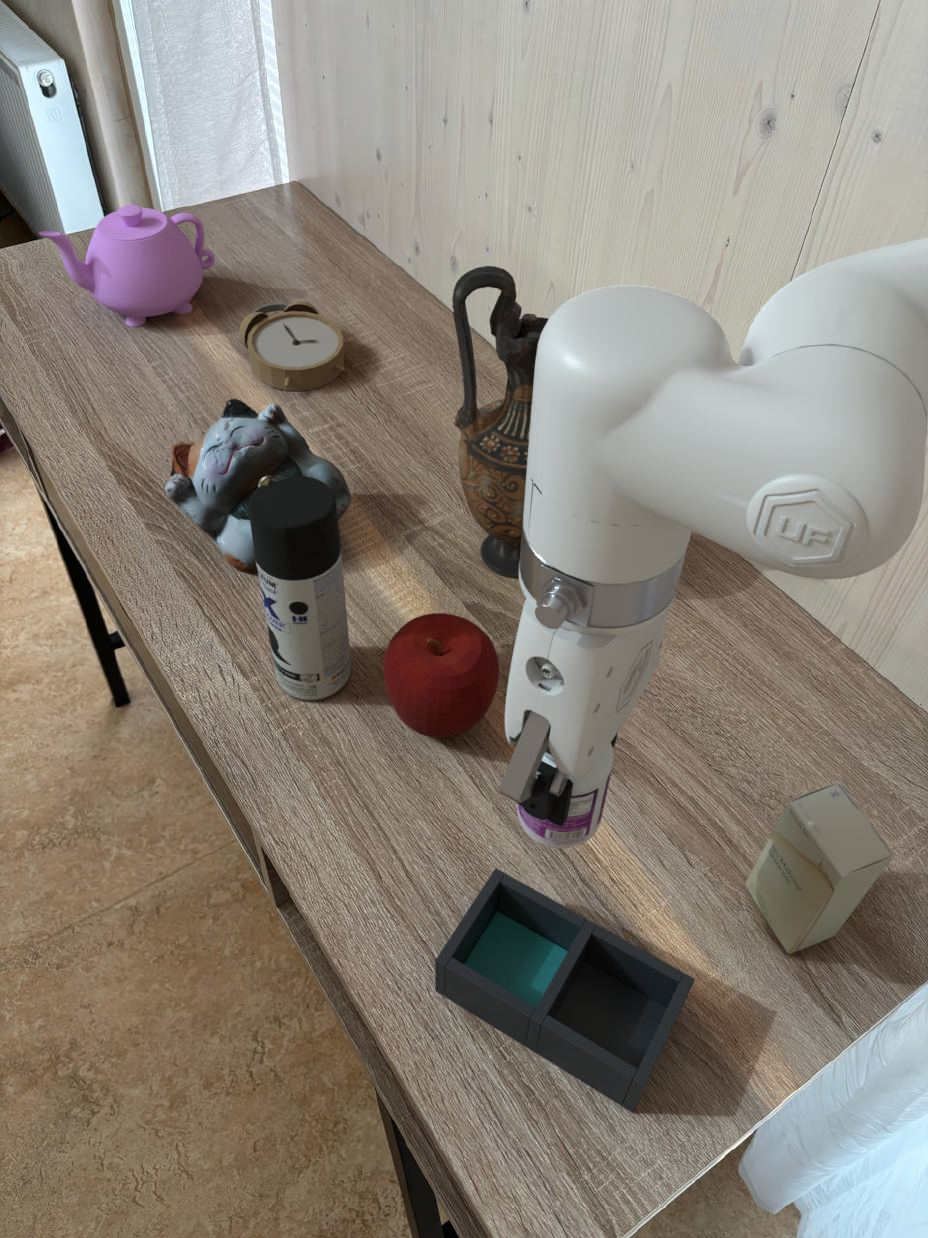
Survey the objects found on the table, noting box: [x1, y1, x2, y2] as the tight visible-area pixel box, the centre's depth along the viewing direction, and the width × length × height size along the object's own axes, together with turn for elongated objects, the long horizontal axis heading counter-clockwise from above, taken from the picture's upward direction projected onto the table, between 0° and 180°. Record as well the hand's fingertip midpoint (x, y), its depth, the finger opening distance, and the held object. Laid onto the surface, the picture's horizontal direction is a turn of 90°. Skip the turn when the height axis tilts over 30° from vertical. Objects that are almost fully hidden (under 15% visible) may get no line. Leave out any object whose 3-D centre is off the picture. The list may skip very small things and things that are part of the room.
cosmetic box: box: [744, 781, 894, 955], centre depth 71 cm, size 6×4×12 cm
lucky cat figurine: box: [164, 398, 352, 575], centre depth 98 cm, size 15×12×14 cm
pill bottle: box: [516, 743, 615, 849], centre depth 60 cm, size 5×5×10 cm
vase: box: [451, 265, 549, 579], centre depth 90 cm, size 12×12×30 cm
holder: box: [434, 868, 696, 1114], centre depth 69 cm, size 15×8×5 cm, turn 59°
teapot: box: [38, 204, 216, 327], centre depth 125 cm, size 20×14×12 cm
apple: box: [382, 612, 500, 738], centre depth 83 cm, size 10×10×10 cm
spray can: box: [248, 475, 352, 702], centre depth 82 cm, size 7×7×20 cm
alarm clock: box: [238, 300, 346, 392], centre depth 121 cm, size 11×5×15 cm
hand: (566, 772), depth 60 cm, fingers closed on pill bottle, 5 cm apart
